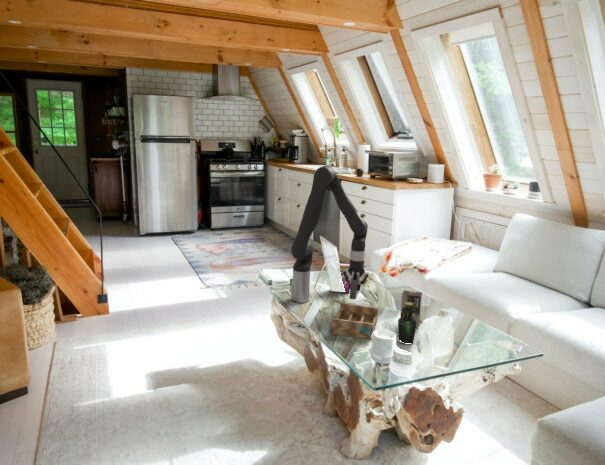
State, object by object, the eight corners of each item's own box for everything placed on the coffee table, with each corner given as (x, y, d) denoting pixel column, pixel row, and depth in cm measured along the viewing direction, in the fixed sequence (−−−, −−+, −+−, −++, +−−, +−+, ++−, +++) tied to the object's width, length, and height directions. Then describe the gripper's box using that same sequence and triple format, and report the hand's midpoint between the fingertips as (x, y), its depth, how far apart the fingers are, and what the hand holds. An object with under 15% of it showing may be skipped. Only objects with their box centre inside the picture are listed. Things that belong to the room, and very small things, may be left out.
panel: (349, 298, 246) (351, 280, 244) (352, 291, 257) (354, 273, 255) (355, 299, 245) (357, 280, 243) (358, 292, 257) (360, 274, 254)
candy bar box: (330, 292, 278) (331, 265, 275) (330, 289, 283) (331, 262, 280) (349, 293, 277) (351, 266, 274) (349, 290, 282) (351, 263, 279)
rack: (331, 333, 221) (332, 319, 219) (340, 316, 243) (340, 303, 241) (372, 339, 216) (373, 324, 215) (377, 320, 238) (378, 307, 237)
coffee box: (419, 323, 237) (422, 292, 233) (418, 328, 231) (421, 296, 227) (401, 320, 240) (403, 289, 236) (399, 325, 234) (401, 293, 230)
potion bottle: (408, 347, 210) (412, 308, 206) (392, 341, 215) (396, 303, 211) (418, 341, 216) (421, 303, 212) (402, 336, 221) (405, 299, 217)
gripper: (342, 258, 245) (340, 291, 249) (370, 262, 242) (367, 294, 246) (344, 255, 252) (342, 286, 256) (371, 258, 249) (368, 290, 253)
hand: (354, 290), depth 251 cm, fingers closed on panel, 3 cm apart
